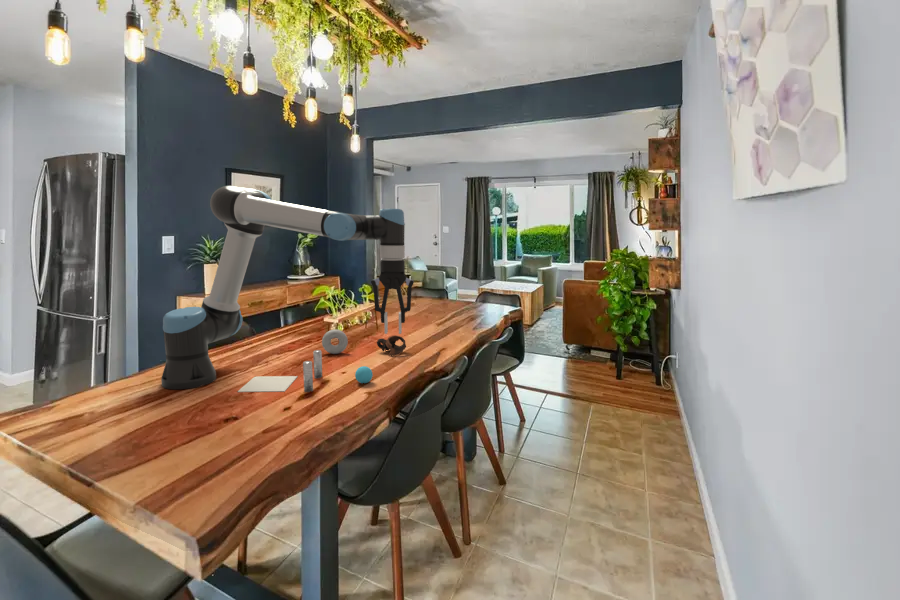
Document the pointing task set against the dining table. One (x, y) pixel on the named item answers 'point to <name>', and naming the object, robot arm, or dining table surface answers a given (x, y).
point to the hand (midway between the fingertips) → (393, 332)
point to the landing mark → (268, 384)
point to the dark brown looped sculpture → (391, 344)
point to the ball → (363, 374)
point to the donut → (330, 335)
